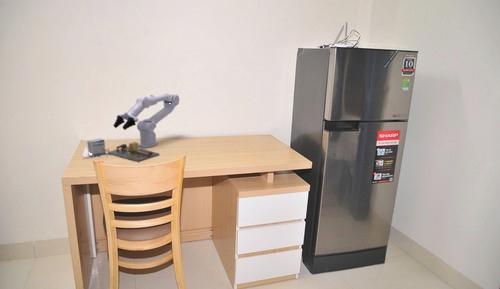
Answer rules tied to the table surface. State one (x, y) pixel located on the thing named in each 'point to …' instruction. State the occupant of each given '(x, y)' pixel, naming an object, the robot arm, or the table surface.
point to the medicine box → (96, 147)
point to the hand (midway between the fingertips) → (119, 127)
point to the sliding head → (132, 147)
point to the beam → (124, 147)
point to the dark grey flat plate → (132, 154)
